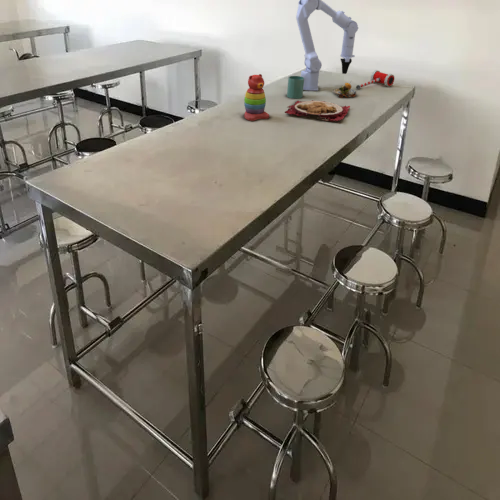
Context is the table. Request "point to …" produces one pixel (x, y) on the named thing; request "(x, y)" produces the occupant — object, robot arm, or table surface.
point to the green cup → (295, 87)
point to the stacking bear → (255, 99)
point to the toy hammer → (379, 79)
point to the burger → (345, 91)
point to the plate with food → (318, 110)
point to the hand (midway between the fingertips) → (344, 73)
